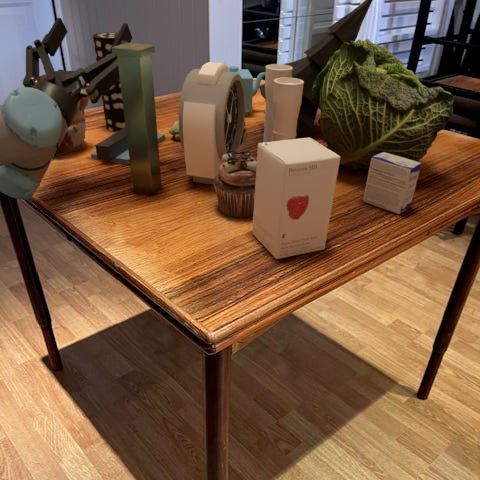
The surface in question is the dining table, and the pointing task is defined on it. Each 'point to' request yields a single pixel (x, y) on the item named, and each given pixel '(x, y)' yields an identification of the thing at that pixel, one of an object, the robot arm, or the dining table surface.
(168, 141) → the dining table surface
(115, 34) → the white-spotted black cylinder
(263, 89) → the decorative tree
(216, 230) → the dining table surface
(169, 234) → the dining table surface
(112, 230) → the dining table surface
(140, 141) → the olive green post
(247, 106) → the teapot
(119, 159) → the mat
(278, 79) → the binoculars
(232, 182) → the cupcake
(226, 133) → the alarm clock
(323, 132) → the cabbage
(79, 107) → the figurine
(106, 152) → the bar
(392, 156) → the box
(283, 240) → the rectangular carton
